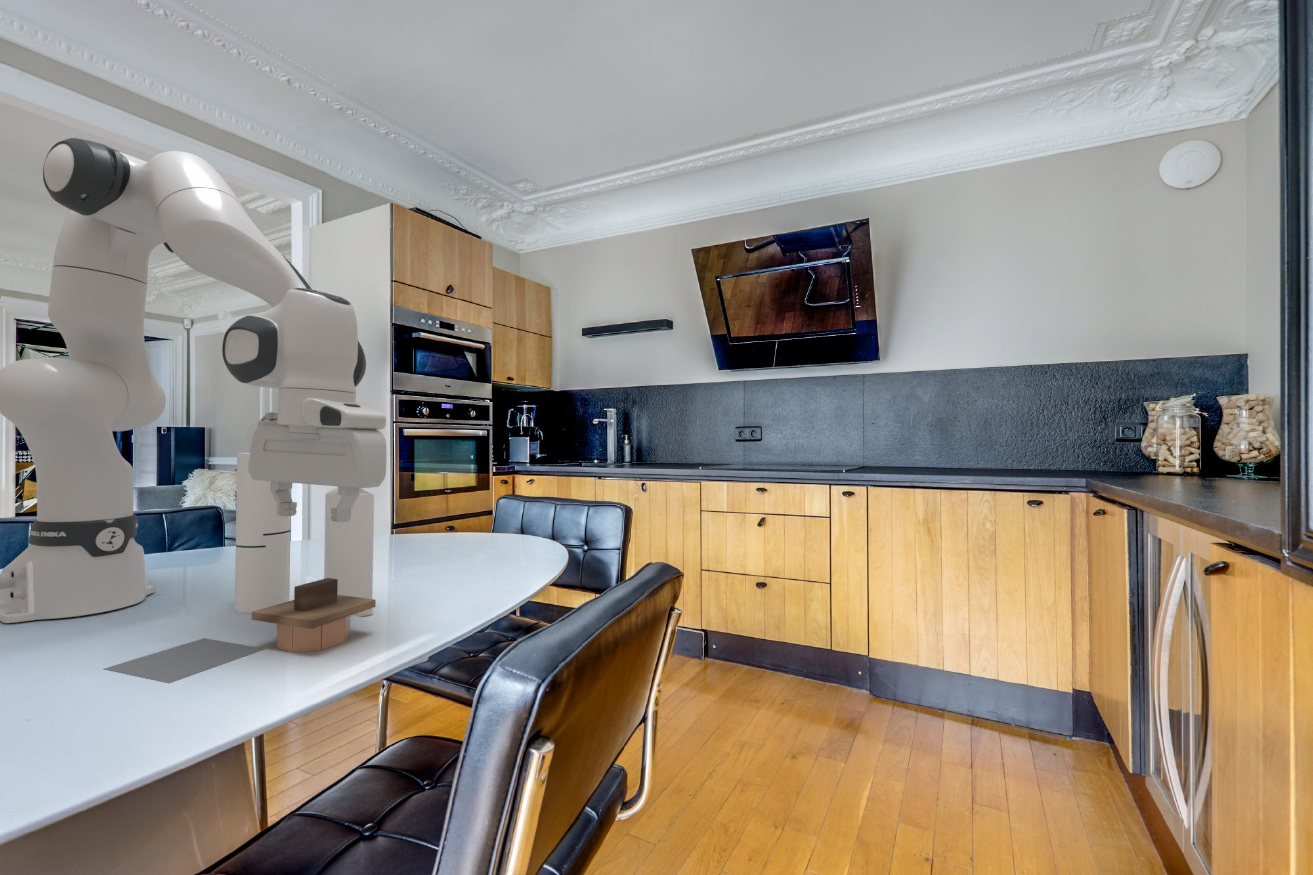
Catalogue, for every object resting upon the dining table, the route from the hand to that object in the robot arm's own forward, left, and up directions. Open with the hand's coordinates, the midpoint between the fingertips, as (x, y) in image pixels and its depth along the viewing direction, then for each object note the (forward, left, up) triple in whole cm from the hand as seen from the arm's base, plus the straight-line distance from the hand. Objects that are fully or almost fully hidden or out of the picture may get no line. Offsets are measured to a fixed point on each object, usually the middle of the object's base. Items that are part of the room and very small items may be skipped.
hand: (313, 518), depth 77 cm
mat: (-8, -10, -17) cm, 21 cm away
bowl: (0, 0, -17) cm, 17 cm away
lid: (0, +1, -13) cm, 13 cm away
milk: (-8, +13, -17) cm, 23 cm away
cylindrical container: (-21, +9, -17) cm, 29 cm away
